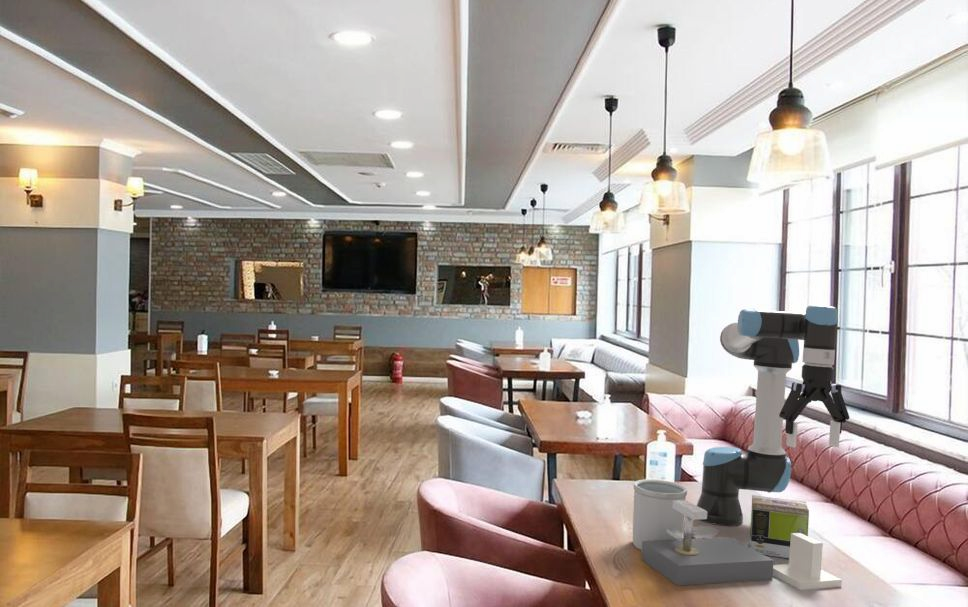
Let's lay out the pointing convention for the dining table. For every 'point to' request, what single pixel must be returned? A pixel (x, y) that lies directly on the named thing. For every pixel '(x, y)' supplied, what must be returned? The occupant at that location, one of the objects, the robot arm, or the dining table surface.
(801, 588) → the cover
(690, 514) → the t key
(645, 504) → the utensil holder
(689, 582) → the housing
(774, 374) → the robot arm
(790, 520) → the tea box
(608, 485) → the dining table surface
